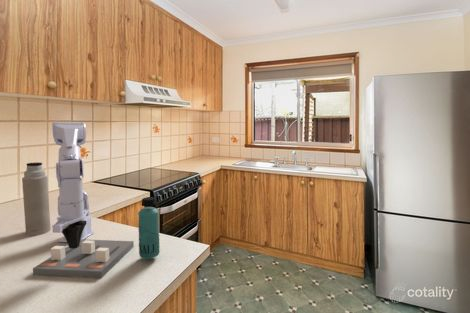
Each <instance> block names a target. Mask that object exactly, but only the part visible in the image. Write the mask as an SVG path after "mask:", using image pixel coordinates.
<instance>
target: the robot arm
mask: <svg viewBox="0 0 470 313" xmlns="http://www.w3.org/2000/svg"><path fill="white" fill-rule="evenodd" d="M51 126H52V127H51V128H52V129H51V130H52V138H53V142H55V145H57V146H60V147H59V148H58V158H57V161H58V162H56V163H55V175H56V176H55V177H56V180H57V187H58V192H59V195H58V197H57V215H58V216H57V217H56V219H57V220H56V222H55V223H54V224H53V225H52V226H51V228H52V229H51V230H52V233H59V234H60V233H62V235H63V237H62V238H61V239H59V240H57V242H58V243H67V247H68V246H69V248H77V247H79V244H80V240H81V239H86V238H87V239H88V237H90V236H92V235H93V234H94V233H95V232H94V231H92V217H91V215H90V214H91V212H90V202H89V201H90V199H89V194H88V192H87V191H85V190H84V188H83V186H84V185H83V179H84V177H85V173H84V162H83V161H84V160H83V158H82V153H81V148H80V146H83V145H84V144H86V139H87V130H86V129H87V127H86V126H87V125H86V123H85V122H84V121H80V122H79V121H77V122H76V121H56V120H53V122H52V125H51Z"/></svg>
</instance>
